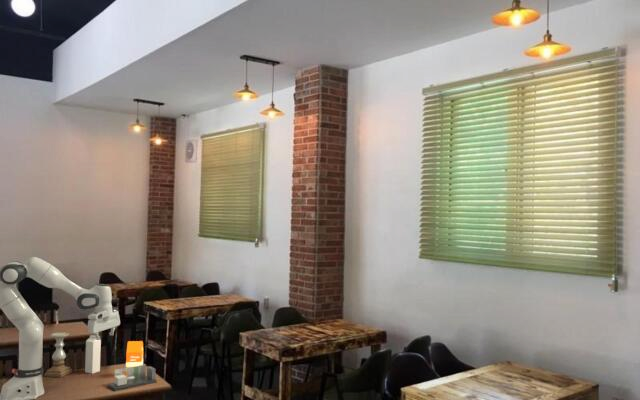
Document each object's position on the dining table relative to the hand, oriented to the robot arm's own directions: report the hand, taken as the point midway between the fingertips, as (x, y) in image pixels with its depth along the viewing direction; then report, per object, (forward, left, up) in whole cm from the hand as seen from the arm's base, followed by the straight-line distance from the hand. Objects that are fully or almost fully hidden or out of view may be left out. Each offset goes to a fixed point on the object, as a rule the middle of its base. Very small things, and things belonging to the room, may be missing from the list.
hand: (105, 337), depth 301 cm
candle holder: (-12, +39, -28) cm, 49 cm away
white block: (+10, -5, -26) cm, 28 cm away
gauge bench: (+14, -5, -27) cm, 31 cm away
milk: (+5, +32, -28) cm, 43 cm away
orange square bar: (+12, -2, -26) cm, 28 cm away
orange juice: (+22, +11, -28) cm, 37 cm away
